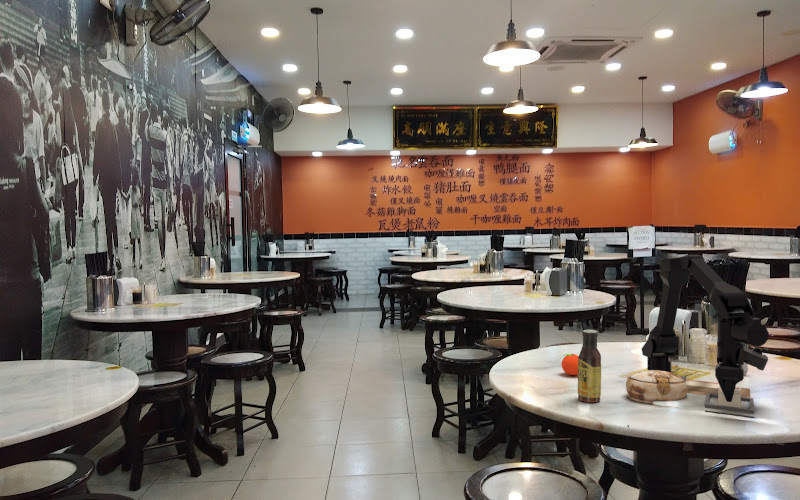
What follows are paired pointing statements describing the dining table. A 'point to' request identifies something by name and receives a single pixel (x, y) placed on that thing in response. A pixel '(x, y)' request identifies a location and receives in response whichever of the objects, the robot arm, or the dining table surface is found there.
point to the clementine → (570, 364)
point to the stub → (735, 400)
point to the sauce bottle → (589, 368)
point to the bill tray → (729, 406)
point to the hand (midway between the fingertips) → (729, 396)
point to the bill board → (708, 387)
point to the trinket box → (655, 386)
